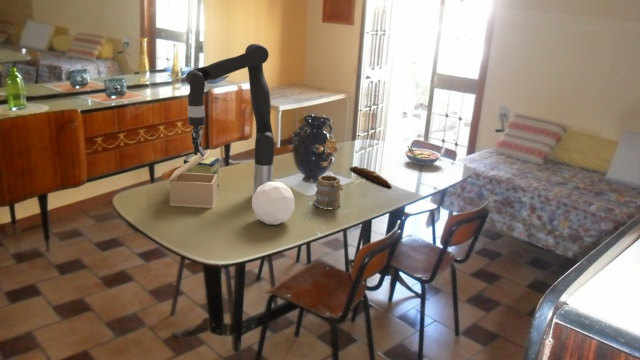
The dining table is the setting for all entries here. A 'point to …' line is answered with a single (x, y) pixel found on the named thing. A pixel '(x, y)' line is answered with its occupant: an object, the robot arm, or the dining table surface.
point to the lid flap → (190, 163)
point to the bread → (371, 175)
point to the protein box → (204, 166)
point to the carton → (194, 190)
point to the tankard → (328, 192)
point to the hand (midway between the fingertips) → (197, 150)
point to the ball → (273, 203)
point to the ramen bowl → (422, 156)
